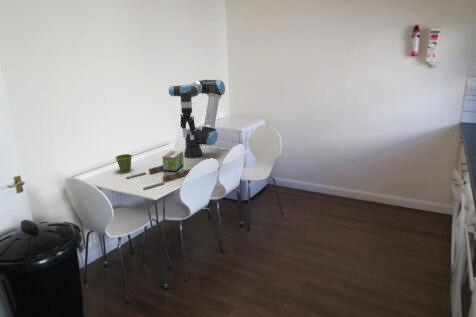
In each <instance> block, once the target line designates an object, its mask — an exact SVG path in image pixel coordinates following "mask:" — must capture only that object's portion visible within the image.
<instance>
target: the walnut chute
mask: <svg viewBox="0 0 476 317" xmlns="http://www.w3.org/2000/svg"><path fill="white" fill-rule="evenodd" d="M189 171H191V169H190V168H187V169H184V170H183V171H179V172H176V173H172V174H168V175H165V176H164V175H162V182H163V183H167V182H172V181H174V180H178V179H181V178H185V177H187V176H186V175H187V174H188V173H189ZM162 172H163V173H164V171H163V164H162V165H158V166H155V167H151V168H148V174H149V175H155V174H158V173H162ZM177 178H178V179H177Z"/></svg>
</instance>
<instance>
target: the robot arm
mask: <svg viewBox="0 0 476 317" xmlns="http://www.w3.org/2000/svg"><path fill="white" fill-rule="evenodd" d="M225 92H226V85H225V83H224V81H223V80H221V79H201V80H197V81H194V82H193V83H186V84H182V85H181V84H180V85H170V86H169V88H168V94H169V96H170V97H180V107H181V110H180V111H181V114H180V128H181V129H182V138H185V139H184V140H185V149H184V152H183V157H184V158H187V159H195V158H201V157H202V156H203V150H202V148H201V145H203V146H204V145H205V146H213V145H215V144H216V142H217V141H218V137H219V135H218V134H219V132H218V131H217V129H216V127H215V126H216V122H217V121H216V120H217V114H218V108H219V102H220V101H219V100H220V99H221V98H222V96H224V95H225ZM199 94H204V95H206V96H207V97H208V100H207V105H206V110H205V111H206V113H205V118H204V123H203V124H204V125H203V126H201V129H200V127H197V126H196V124H195V116H193V115H192V113H193V107H192V106H193V102H192V98H196V97H197V96H199ZM187 123H188V128H187Z"/></svg>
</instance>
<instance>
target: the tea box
mask: <svg viewBox="0 0 476 317" xmlns="http://www.w3.org/2000/svg"><path fill="white" fill-rule="evenodd" d="M162 165H163V176H165V175H168V174H172V173H176V172H179V171H183V170H185V168H184V167H185V166H184V152H183V151H179V150H178V151H177V150H176V151H175V150H170V151H169V152H167V153H166V154H164V155H163V156H162Z"/></svg>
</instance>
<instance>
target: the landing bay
mask: <svg viewBox="0 0 476 317" xmlns="http://www.w3.org/2000/svg"><path fill="white" fill-rule="evenodd" d="M145 175H147V172H141V173H136V174H133V175H129V176H126V177H125V178H126V180H129V179H133V178H137V177H141V176H145ZM164 185H165V182H163V181H162V182H158V183H155V184H152V185H148V186H144V187H143V188H142V189H143V190H144V191H146V189H147V190H149V189H153V188H156V187H159V186H164Z"/></svg>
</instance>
